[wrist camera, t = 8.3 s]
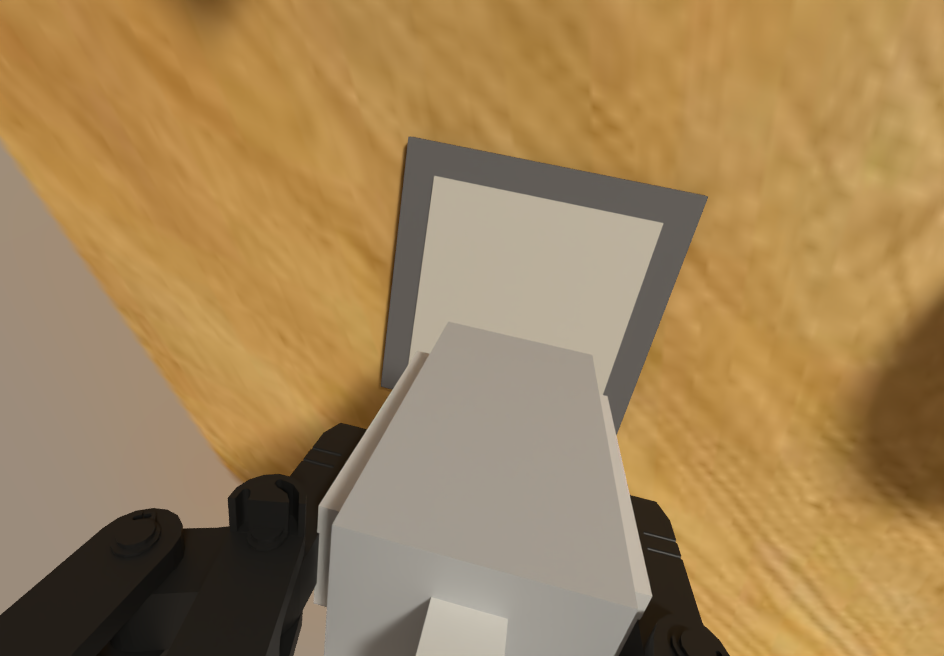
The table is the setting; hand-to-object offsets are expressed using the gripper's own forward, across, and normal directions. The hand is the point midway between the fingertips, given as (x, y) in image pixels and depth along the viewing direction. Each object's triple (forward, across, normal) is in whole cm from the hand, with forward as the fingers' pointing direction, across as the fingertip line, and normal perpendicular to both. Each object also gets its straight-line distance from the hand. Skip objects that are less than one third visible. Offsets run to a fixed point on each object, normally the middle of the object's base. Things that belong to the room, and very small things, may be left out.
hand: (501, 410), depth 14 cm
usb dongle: (0, 0, 0) cm, 1 cm away
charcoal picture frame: (+11, 0, 0) cm, 11 cm away
